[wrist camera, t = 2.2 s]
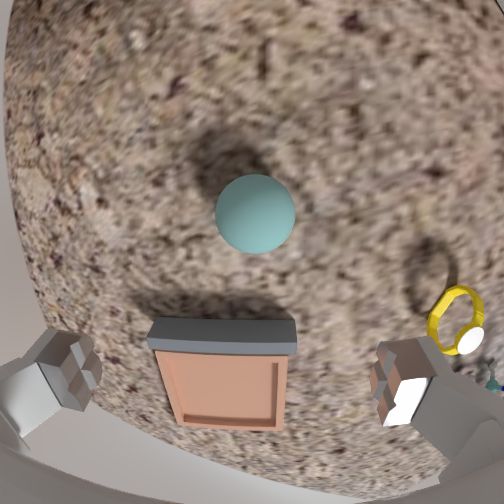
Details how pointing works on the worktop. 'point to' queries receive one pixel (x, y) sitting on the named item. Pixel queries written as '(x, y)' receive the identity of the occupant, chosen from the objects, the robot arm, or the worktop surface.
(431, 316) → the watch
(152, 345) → the block
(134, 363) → the worktop surface
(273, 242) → the ball
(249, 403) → the dish
